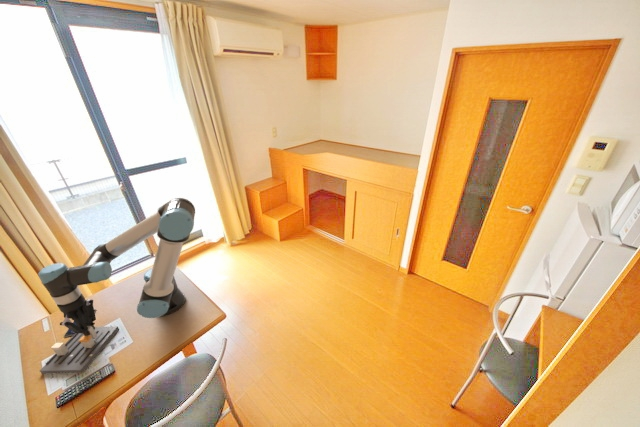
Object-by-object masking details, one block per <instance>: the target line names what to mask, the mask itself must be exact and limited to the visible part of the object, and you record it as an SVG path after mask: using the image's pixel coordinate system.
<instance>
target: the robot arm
mask: <svg viewBox="0 0 640 427" xmlns="http://www.w3.org/2000/svg"><path fill="white" fill-rule="evenodd" d="M195 214H196V208H195V206H194V204H193V203H192V202H191V201H190V200H189V199H186V198H184V197H179V198H178V197H175V198H172V199H171V200H169V201H168V202H166V203H164V204H163V205H161V206H159V207H158V208H157V211H156V212H154V213H153V214H151V215H149V216H148V217H146V218H144V220H142V221H140V222H139V223H136V224H134V225H133V226H132V227H130V228H128V229H127V230H125V231H123V232H122V233H121V234H118V235H117V236H115V237H114V238H112V239H110V240H108V242H101V243H100V244H98V245H97V246H96V247H95V248H94V249H93V251H92V253H91V254H90V255H89V256H88V258H87V259H86V261H85V262H84V263H83V264H81V265H78V266H73V267H68V266H67V264H65V263H63V262H62V263H61V262H56V263H52V264H48V265H46V266H45V267H43V268H41V270H40V271H39V272H38V274H37V275H38V279H39V280H40V283H41V284H42V285H43V287H44V288H45V289H46V291H47V292H48V293H49V295H50V297H51V298H52V300H53V302H54V304H56V306H57V309H59V311H60V312H61V313H62V314H63V318H64V319H63V321H61V322H59V326H64V327H66V328H67V329H70V330H72V331H73V332H74V333H83V334H84V336H91V337H92V339H95V338H96V337H97V334H96V332H95V331H94V329H95V327H96V326H94V325H95V324H96V323H95V321H96V319H97V318H96V313H95V312H94V310H95V308H94V299H86V298H85V297H84V294H83V293H82V291H81V289H80V288H79V286H82V285H88V284H89V285H90V284H95V283H96V284H97V283H100V282H102V281H106V280H108V279H110V278H111V277H112V273H113V272H112V271H113V270H112V269H113V268H112V266H111V262H113V261H114V260H115V259H116V258H119V257H120V256H122V255H124V253H126V252H128V251H129V250H130V249H133V248H134V247H136V246H138V245H139V244H141V243H142V242H144V241H146V240H147V239H149V238H151V237H152V236H153V235H155V234H156V235H157V238H159V242H158V246H157V249H156V254H155V258H154V261H153V266H152V268H150V269H149V270H147V271H146V272H145V273H144V274H143V280H144V282H145V283H144V285H143V287H142V292H141V295H140V299H139V303H137V307H136V311H137V314H138V316H141V317H143V318H147V319H155V318H160V317H162V316H168V315H170V314H174V313H175V312H176V311H179V309H182V307H183V306H184V304H185V303H184V301H185V302H186V296H185V293H184V292H183V291H181V289H180V288H179V287H178V284H177V281H176V279H175V272H176V268H177V265H178V262H179V259H180V255H181V252H182V248H183V245H184V243H186V242H187V241H188V240H189V238H190V235H191V233H192V231H193V229H194V225H195V224H194V223H195ZM183 303H184V304H183ZM182 305H183V306H182ZM181 306H182V307H181ZM91 317H92V318H91ZM70 319H71V320H70ZM72 321H73V322H75V324H76V325H75V324H74V323H73V322H72Z"/></svg>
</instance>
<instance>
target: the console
mask: <svg viewBox="0 0 640 427" xmlns="http://www.w3.org/2000/svg"><path fill="white" fill-rule="evenodd" d="M94 327H95V329H94V331H95V332H96V334H97V337H96V338H95V339H93V341H94V342H95V345H94V346H93V347H92V348H84V346H83V345H82V344H81V342H80V341H79V340H80V339H81V338H82V337H83V336H84V334H83V333H75V334H74V335H73V336H71V338H70V337H69V339H68V341H66V342H64V344H65V346H66V347H67V349H68V350H69V351H68V352H67V354H66V355H58V356H57V354H56V353H55V354H53V355H52V356H51V358H49V359H48V360H47V361H46V362H45V364H44V366H42V368H41V369H39V372H40V373H41V374H42V375H43V374H44V375H45V374H46V373H56V374H83V373H84V372H85V371H86V369H87V368H89V366H90V365H91V364H92V362H94V361H95V359H96V358H97V357H98V355H99V354H100V353H101V352H102V350H103V349H104V348H105V347H106V346H107V345H108V343H109V342H110V341H111V340H112V339H113V337H114V336H115V335H116V334H117V333H118V331H119V327H118V326H94ZM46 375H47V374H46Z"/></svg>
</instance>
